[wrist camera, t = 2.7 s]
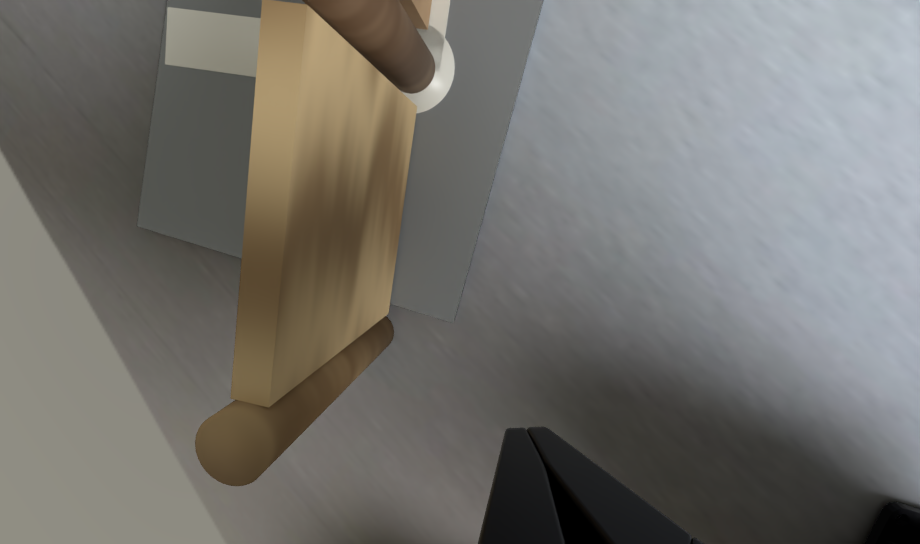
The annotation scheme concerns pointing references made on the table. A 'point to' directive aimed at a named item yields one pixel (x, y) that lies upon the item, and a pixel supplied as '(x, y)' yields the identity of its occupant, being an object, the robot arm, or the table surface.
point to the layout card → (432, 154)
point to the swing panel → (310, 238)
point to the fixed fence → (385, 36)
